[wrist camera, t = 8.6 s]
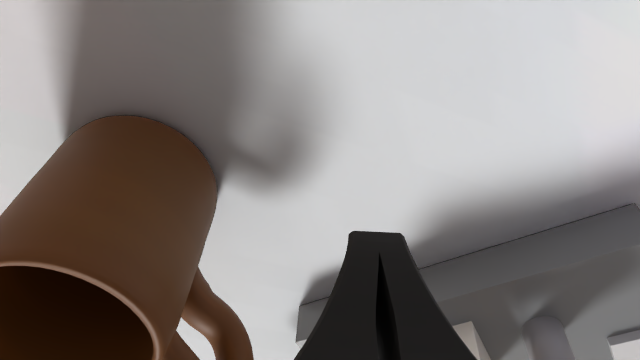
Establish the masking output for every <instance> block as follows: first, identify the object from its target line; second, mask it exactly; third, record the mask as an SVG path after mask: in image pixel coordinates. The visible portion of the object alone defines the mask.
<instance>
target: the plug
mask: <svg viewBox="0 0 640 360" xmlns="http://www.w3.org/2000/svg"><path fill="white" fill-rule="evenodd" d="M452 327H453V328H454V330H455V331H456V333H457V334H458V335H459V337H460V338H461V339H462V341H463V342H464V343H465V345H466V346H467V347H468V349H469V350H470V351H471V352H472V354H473V355H474V356H475V357H476V359H477V360H491V359H490V357H489V355H488V353H487V351H486V349H485V347H484V345H483V343H482V341H481V339H480V337H479V335H478V333H477V331H476V329H475V327H474V325H473V323H472V321H469V322H466V323H462V324H458V325H455V326H452Z"/></svg>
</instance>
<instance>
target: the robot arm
mask: <svg viewBox="0 0 640 360" xmlns="http://www.w3.org/2000/svg"><path fill="white" fill-rule="evenodd" d="M294 360H477V359H476V357H475V356H474V355H473V354H472V352H471V351H470V350H469V349H468V347H467V346H466V345H465V343H464V342H463V341H462V339H461V338H460V337H459V335H458V334H457V333H456V331H455V330H454V328H453V327H452V325H451V324H450V322H449V321H448V319H447V318H446V316H445V315H444V313H443V312H442V310H441V309H440V307H439V305H438V304H437V302H436V301H435V299H434V297H433V295H432V294H431V292H430V290H429V288H428V287H427V285H426V283H425V281H424V280H423V278H422V276H421V274H420V272H419V270H418V268H417V266H416V264H415V262H414V260H413V257H412V255H411V253H410V251H409V248H408V246H407V243H406V240H405V238H404V236H403V235H402V234H401V233H387V232H365V231H353V232H351V233H350V234H349V238H348V246H347V251H346V255H345V258H344V262H343V265H342V268H341V271H340V273H339V276H338V278H337V281H336V283H335V286H334V289H333V291H332V293H331V295H330V297H329V299H328V301H327V303H326V306H325V308H324V310H323V312H322V314H321V316H320V318H319V319H318V321H317V323H316V325H315V327H314V328H313V330H312V332H311V334H310V335H309V337H308V339H307V340H306V342H305V343H304V345H303V347H302V348H301V350H300V351H299V353H298V354H297V356H296V357H295V359H294Z"/></svg>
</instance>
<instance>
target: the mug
mask: <svg viewBox="0 0 640 360" xmlns="http://www.w3.org/2000/svg"><path fill="white" fill-rule="evenodd" d="M216 203H217V185H216V181H215V177H214V174H213V171H212V169H211V167H210V165H209V163H208V161H207V160H206V158H205V157H204V156H203V154H202V153H201V151H200V150H199V149H198V148H197V147H196V146H195V145H194V144H193V143H192V142H191V141H190V140H189V139H187V138H186V137H185V136H184V135H182V134H181V133H179V132H178V131H176V130H174V129H173V128H171V127H169V126H167V125H165V124H162V123H160V122H157V121H154V120H151V119H147V118H142V117H137V116H110V117H104V118H101V119H97V120H94V121H92V122H90V123H88V124H86V125H84V126H83V127H81V128H80V129H78V130H77V131H75V132H74V133H73V134H72V135H71V136H70V137H69V138H68V139H67V140H66V141H65V142H64V143H63V144H62V145H61V146H60V147H59V148H58V149H57V151H56V152H55V153H54V154H53V155H52V156H51V158H50V159H49V160H48V161H47V162H46V164H45V165H44V166H43V167H42V168H41V169H40V170H39V171H38V172H37V174H36V175H35V176H34V177H33V178H32V179H31V180H30V181H29V183H28V184H27V185H26V186H25V187H24V189H23V190H22V191H21V192H20V193H19V194H18V196H17V197H16V198H15V199H14V200H13V202H12V203H11V204H10V205H9V206H8V207H7V209H6V210H5V211H4V212H3V213H2V215H1V216H0V360H200V359H199V358H198V357H197V356H196V355H195V353H194V352H193V351H192V350H191V349H190V347H189V346H188V345H187V344H186V343H185V342H184V340H183V339H182V338H181V337H180V335H179V334H178V333H177V331H176V329H177V327H178V324H179V321H180V318H181V317H182V318H183V319H184V320H185V321H186V322H187V323H188V324H189V325H190V326H192V327H193V328H194V329H196V330H197V331H199V332H200V333H201V334H203V335H204V336H205V337H206V338H207V339H208V341H209V342H210V344H211V346H212V348H213V350H214V353H215V357H216V360H254V359H253V352H252V346H251V343H250V339H249V336H248V334H247V332H246V329H245V327H244V325H243V324H242V322H241V320H240V319H239V317H238V316H237V315H236V313H235V312H234V311H233V310H232V309H231V308H230V307H229V306H228V305H227V304H226V303H225V302H224V301H223V300H221V299H220V298H219V297H218V296H217V295H215V294H214V293H213V292H212V290H211V288H210V286H209V284H208V283H207V281H206V280H205V279H204V277H203V275H202V274H201V272H200V270H199V267H198V264H199V261H200V258H201V255H202V252H203V248H204V245H205V241H206V238H207V235H208V232H209V230H210V227H211V224H212V220H213V217H214V213H215V209H216Z"/></svg>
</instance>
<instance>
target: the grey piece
mask: <svg viewBox="0 0 640 360" xmlns="http://www.w3.org/2000/svg"><path fill="white" fill-rule="evenodd" d="M419 272H420V274H421V276H422V278H423V280H424V281H425V283H426V285H427V287H428V288H429V290H430V292H431V294H432V295H433V297H434V299H435V301H436V302H437V304H438V305H439V307H440V309H441V310H442V312H443V313H444V315H445V316H446V318H447V319H448V321H449V322H450V324H451V325H452V326H455V325H458V324H462V323H466V322H469V321H472V323H473V325H474V327H475V329H476V331H477V333H478V335H479V337H480V339H481V341H482V343H483V345H484V347H485V349H486V351H487V353H488V355H489V357H490V359H491V360H640V210H639V209H638V207H637V206H636V204H635V203H634V204H631V205H627V206H624V207H621V208H618V209H614V210H611V211H608V212H605V213H601V214H598V215H595V216H592V217H588V218H585V219H582V220H579V221H575V222H572V223H569V224H566V225H562V226H559V227H556V228H553V229H549V230H546V231H543V232H540V233H536V234H533V235H530V236H527V237H523V238H520V239H517V240H514V241H510V242H507V243H504V244H500V245H497V246H494V247H491V248H487V249H484V250H481V251H478V252H474V253H471V254H468V255H465V256H461V257H458V258H455V259H452V260H448V261H445V262H442V263H439V264H435V265H432V266H429V267H426V268H422V269H419ZM328 299H329V297H328V298H325V299H321V300H318V301H315V302H312V303H308V304H305V305H302V306H299V315H298V324H297V334H296V343H297V345H298V346H299V347H300V348H302V347H303V345H304V343H305V342H306V340H307V339H308V337H309V335H310V334H311V332H312V330H313V328H314V327H315V325H316V323H317V321H318V319H319V318H320V316H321V314H322V312H323V310H324V308H325V306H326V303H327V301H328Z"/></svg>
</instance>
